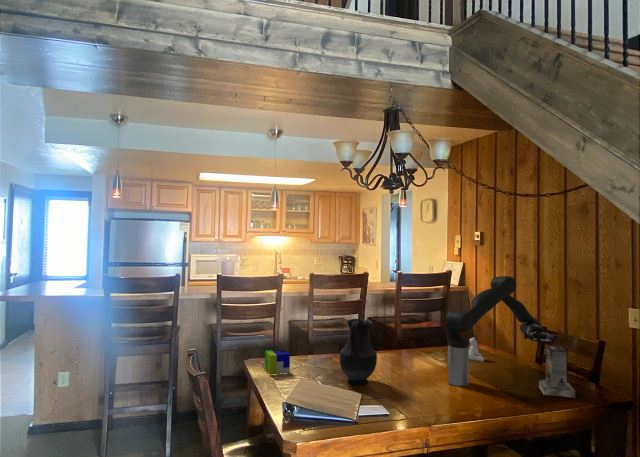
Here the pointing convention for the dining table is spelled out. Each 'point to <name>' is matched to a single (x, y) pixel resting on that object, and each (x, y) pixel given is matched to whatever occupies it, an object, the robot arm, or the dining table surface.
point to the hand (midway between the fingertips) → (542, 339)
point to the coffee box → (556, 366)
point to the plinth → (556, 390)
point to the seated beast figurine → (474, 351)
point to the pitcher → (358, 353)
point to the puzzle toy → (277, 361)
